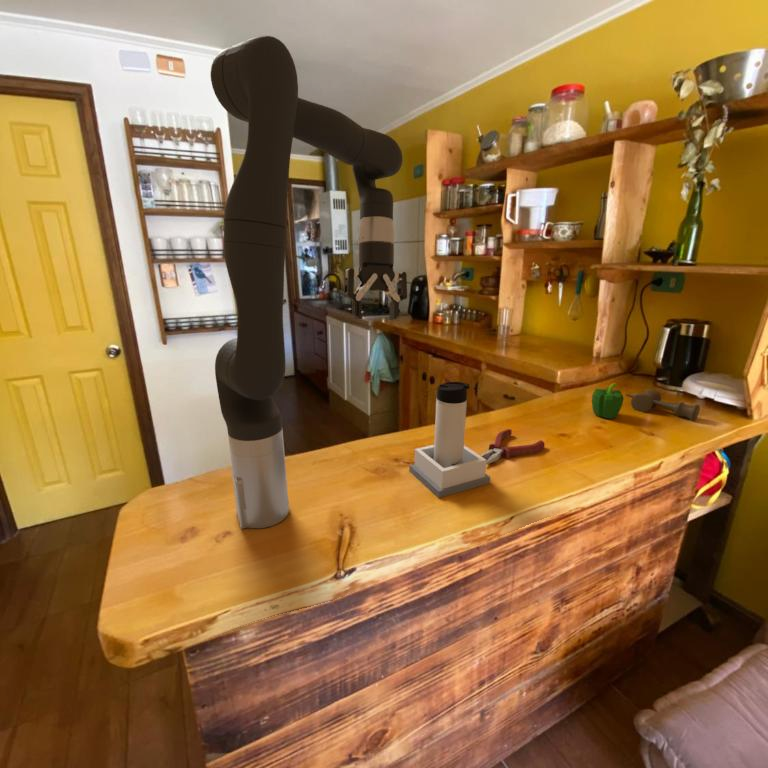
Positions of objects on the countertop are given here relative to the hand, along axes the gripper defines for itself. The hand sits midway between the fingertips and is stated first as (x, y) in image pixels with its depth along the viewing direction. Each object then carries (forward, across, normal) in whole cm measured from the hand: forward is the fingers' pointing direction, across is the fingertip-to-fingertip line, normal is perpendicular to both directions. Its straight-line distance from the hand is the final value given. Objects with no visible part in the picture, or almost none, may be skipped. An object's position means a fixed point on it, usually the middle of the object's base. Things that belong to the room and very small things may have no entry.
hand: (376, 319), depth 91 cm
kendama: (+28, +93, -9) cm, 98 cm away
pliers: (+33, +32, -7) cm, 46 cm away
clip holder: (+34, +12, -12) cm, 38 cm away
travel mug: (+33, +12, -12) cm, 37 cm away
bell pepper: (+28, +75, -4) cm, 80 cm away
